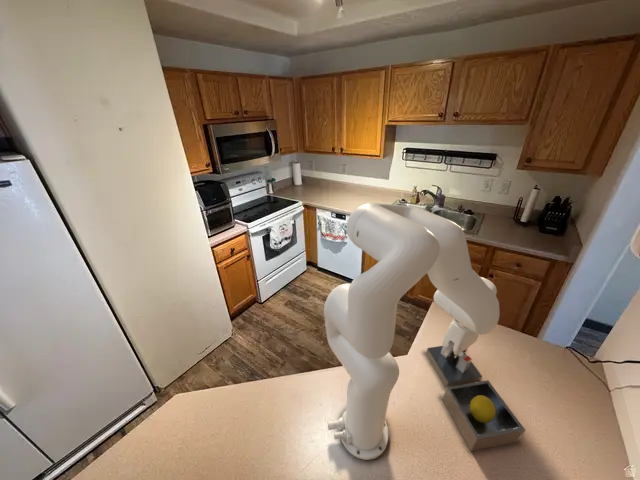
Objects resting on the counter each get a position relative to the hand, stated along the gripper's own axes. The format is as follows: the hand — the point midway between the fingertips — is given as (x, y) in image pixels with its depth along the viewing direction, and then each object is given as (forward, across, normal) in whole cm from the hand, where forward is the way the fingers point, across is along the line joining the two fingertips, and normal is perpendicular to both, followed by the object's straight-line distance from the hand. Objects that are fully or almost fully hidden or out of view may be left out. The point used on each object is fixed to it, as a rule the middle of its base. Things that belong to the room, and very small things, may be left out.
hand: (454, 360), depth 81 cm
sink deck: (+4, 0, 0) cm, 4 cm away
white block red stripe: (+1, 0, 0) cm, 1 cm away
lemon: (+3, +7, +13) cm, 15 cm away
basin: (+4, +7, +13) cm, 15 cm away
